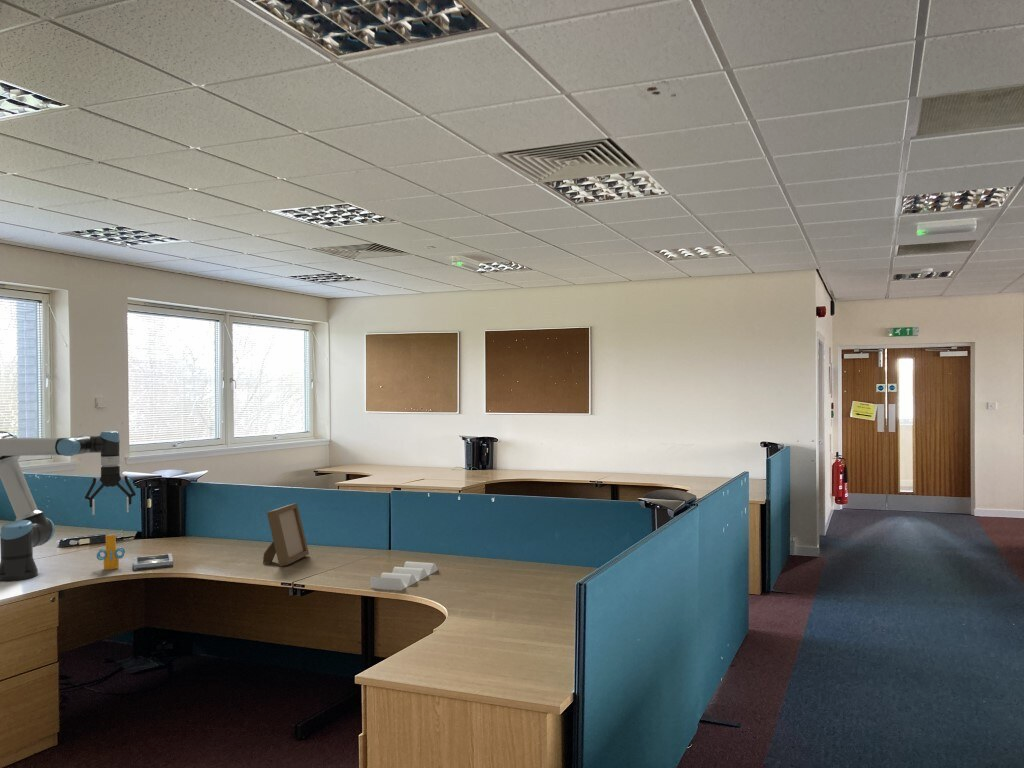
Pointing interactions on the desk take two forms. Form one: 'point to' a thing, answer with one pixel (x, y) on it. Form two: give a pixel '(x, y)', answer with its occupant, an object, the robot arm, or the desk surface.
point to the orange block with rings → (111, 553)
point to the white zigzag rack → (403, 576)
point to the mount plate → (153, 561)
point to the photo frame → (286, 536)
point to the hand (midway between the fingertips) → (110, 513)
